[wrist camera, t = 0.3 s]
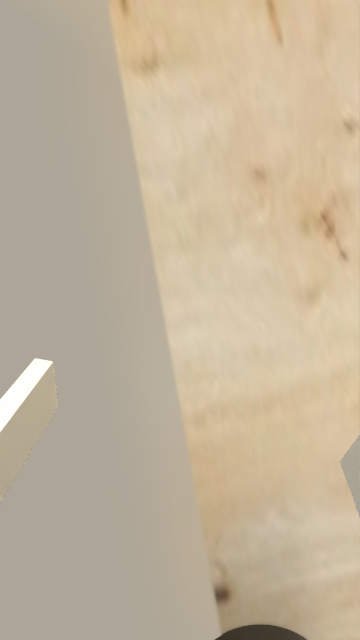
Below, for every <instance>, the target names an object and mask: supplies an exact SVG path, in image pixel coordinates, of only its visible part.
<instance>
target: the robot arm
mask: <svg viewBox="0 0 360 640" xmlns="http://www.w3.org/2000/svg"><path fill="white" fill-rule="evenodd" d="M58 407H59V404H58V396H57V389H56V381H55V373H54V365H53V362H52V361H46V360H41V359H34V360H33V362H32V363H31V364H30V365H29V366H28V367H27V369H26V370H25V371H24V372H23V373H22V375H21V376H20V377H19V378H18V379H17V381H16V382H15V383H14V384H13V385H12V386H11V388H10V389H9V390H8V391H7V392H6V394H5V395H4V396H3V397H2V398H1V400H0V503H1V501H2V499H3V498H4V496H5V494H6V493H7V491H8V489H9V488H10V486H11V484H12V482H13V481H14V479H15V478H16V476H17V474H18V473H19V471H20V470H21V468H22V466H23V465H24V463H25V461H26V460H27V458H28V456H29V455H30V452H31V451H32V449H33V448H34V446H35V445H36V443H37V441H38V439H39V438H40V436H41V435H42V433H43V431H44V430H45V428H46V427H47V425H48V423H49V422H50V420H51V418H52V417H53V415H54V413H55V412H56V410H57V408H58ZM340 463H341V466H342V469H343V472H344V474H345V477H346V480H347V483H348V485H349V488H350V491H351V494H352V496H353V499H354V502H355V505H356V507H357V510H358V513H359V516H360V436H359V437H358V438H357V439H356V441H355V442H354V443H353V445H352V446H351V447H350V449H349V450H348V451H347V452H346V454H345V455H344V456H343V458H342V459H341V460H340ZM215 640H306V639H305V638H304V637H302V636H300V635H298V634H296V633H294V632H292V631H290V630H287V629H284V628H281V627H276V626H270V625H252V626H245V627H241V628H238V629H235V630H232V631H230V632H227V633H225V634H223V635H222V636H220V637H218V638H217V639H215Z"/></svg>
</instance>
